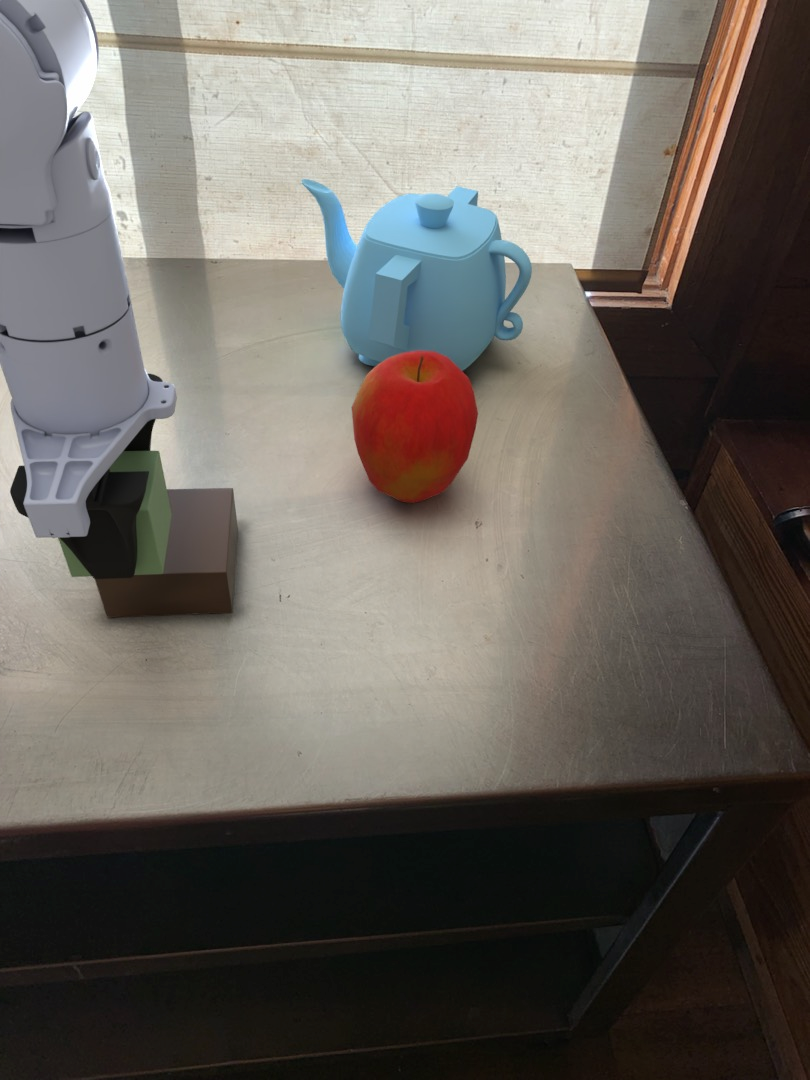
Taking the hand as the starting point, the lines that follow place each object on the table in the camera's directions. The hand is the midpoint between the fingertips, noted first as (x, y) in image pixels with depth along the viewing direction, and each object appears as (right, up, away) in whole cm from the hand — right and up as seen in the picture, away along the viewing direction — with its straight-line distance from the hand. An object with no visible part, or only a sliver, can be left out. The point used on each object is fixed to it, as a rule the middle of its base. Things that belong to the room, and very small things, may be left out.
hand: (121, 538), depth 42 cm
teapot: (+15, +19, +35) cm, 42 cm away
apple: (+15, +4, +20) cm, 25 cm away
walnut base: (-1, -2, +12) cm, 12 cm away
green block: (0, 0, 0) cm, 0 cm away
